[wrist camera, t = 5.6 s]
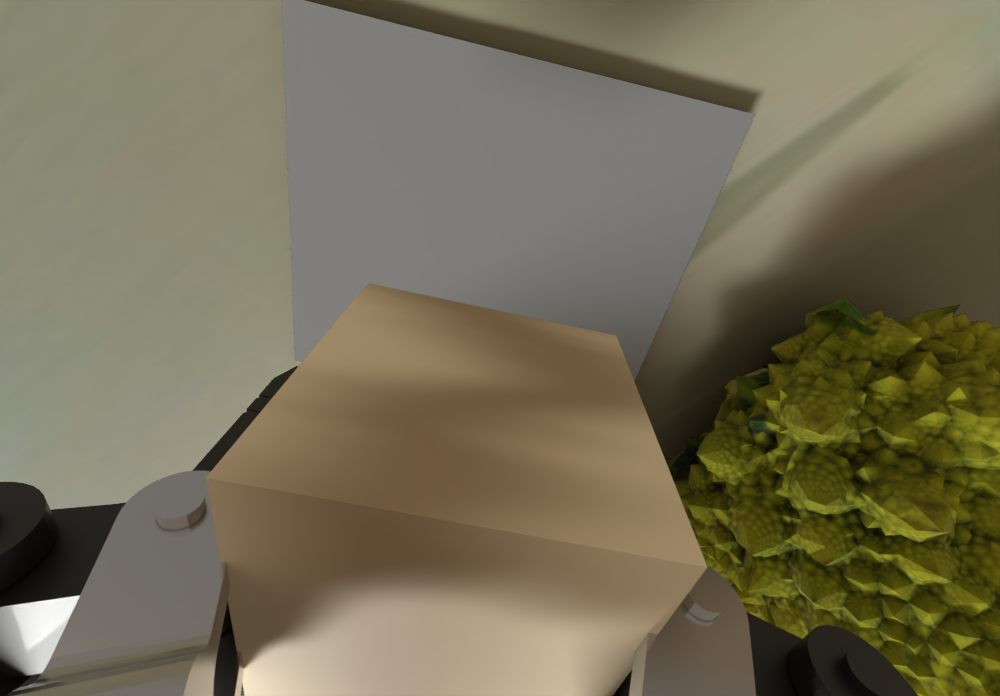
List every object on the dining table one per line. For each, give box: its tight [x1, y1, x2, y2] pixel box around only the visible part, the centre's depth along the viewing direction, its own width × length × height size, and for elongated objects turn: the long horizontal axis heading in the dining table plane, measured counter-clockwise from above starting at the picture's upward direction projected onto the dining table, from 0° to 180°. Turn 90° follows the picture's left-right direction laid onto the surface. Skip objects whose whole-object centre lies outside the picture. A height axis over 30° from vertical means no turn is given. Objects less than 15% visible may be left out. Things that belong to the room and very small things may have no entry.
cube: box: [206, 283, 707, 696], centre depth 8 cm, size 5×5×5 cm
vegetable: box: [666, 297, 1000, 696], centre depth 19 cm, size 15×16×15 cm
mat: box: [282, 0, 755, 381], centre depth 18 cm, size 16×14×1 cm
